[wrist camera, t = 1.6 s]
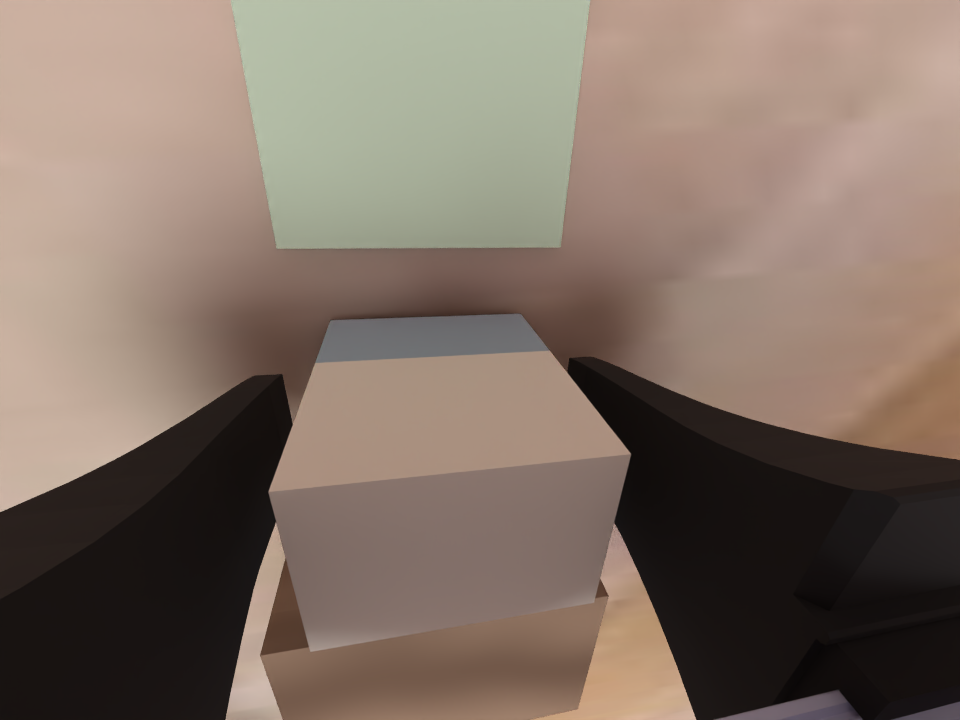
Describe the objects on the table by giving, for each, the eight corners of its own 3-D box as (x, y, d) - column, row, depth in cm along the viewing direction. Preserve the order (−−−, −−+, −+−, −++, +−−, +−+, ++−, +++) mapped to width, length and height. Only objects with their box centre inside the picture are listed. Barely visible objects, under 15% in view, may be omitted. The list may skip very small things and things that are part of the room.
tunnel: (537, 587, 18) (577, 709, 14) (322, 622, 16) (301, 770, 12) (553, 482, 15) (608, 596, 11) (297, 510, 13) (260, 655, 10)
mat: (557, 245, 11) (560, 247, 11) (279, 246, 10) (276, 248, 10) (599, -123, 8) (605, -131, 8) (199, -192, 7) (192, -204, 6)
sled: (495, 618, 18) (539, 819, 12) (374, 639, 17) (366, 866, 11) (520, 313, 11) (631, 454, 6) (330, 320, 10) (268, 491, 5)
